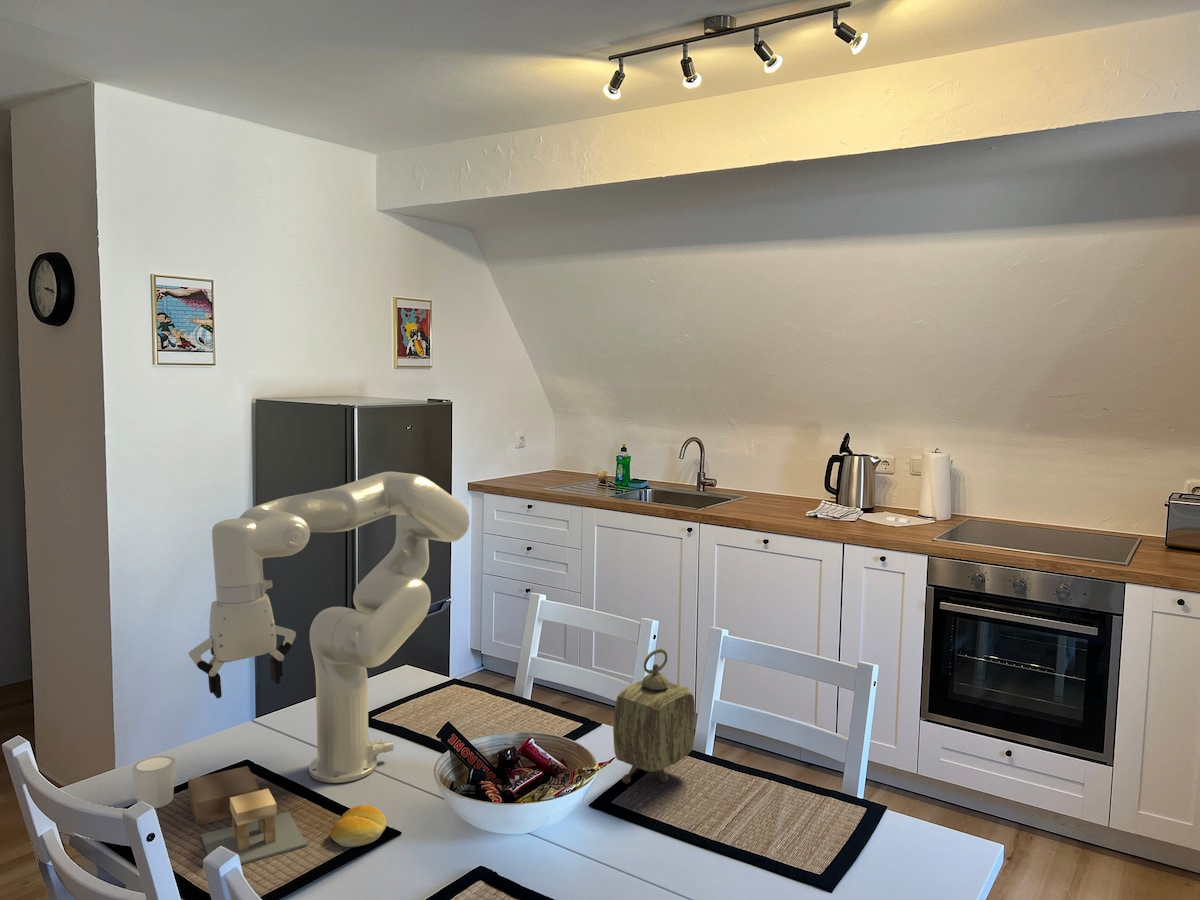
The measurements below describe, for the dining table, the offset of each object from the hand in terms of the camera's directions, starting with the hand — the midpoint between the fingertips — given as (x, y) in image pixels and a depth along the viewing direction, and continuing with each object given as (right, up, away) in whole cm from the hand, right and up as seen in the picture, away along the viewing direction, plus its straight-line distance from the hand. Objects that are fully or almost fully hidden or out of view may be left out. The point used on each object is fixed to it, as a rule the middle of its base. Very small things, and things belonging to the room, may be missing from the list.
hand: (247, 688), depth 149 cm
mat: (+4, -23, -8) cm, 24 cm away
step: (-6, -22, +4) cm, 23 cm away
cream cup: (-18, -22, +5) cm, 29 cm away
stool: (+4, -23, -7) cm, 24 cm away
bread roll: (+20, -23, -5) cm, 31 cm away
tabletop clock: (+71, -22, +16) cm, 76 cm away
